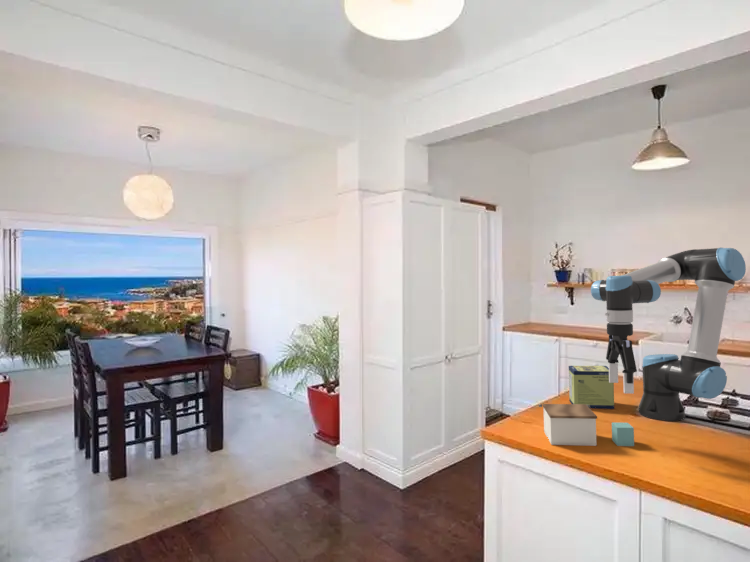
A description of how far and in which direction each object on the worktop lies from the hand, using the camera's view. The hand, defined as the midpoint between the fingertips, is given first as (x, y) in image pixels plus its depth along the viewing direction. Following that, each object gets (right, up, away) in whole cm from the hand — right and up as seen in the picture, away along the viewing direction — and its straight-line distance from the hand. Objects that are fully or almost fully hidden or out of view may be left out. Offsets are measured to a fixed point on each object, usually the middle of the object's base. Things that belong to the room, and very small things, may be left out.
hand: (620, 387), depth 150 cm
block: (+1, -18, +1) cm, 18 cm away
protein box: (+10, -17, +42) cm, 46 cm away
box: (-14, -19, +6) cm, 24 cm away
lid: (-15, -10, +6) cm, 18 cm away
